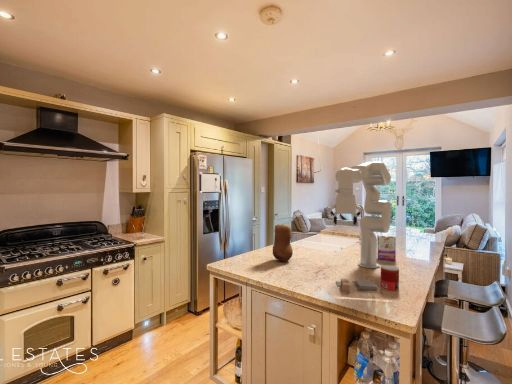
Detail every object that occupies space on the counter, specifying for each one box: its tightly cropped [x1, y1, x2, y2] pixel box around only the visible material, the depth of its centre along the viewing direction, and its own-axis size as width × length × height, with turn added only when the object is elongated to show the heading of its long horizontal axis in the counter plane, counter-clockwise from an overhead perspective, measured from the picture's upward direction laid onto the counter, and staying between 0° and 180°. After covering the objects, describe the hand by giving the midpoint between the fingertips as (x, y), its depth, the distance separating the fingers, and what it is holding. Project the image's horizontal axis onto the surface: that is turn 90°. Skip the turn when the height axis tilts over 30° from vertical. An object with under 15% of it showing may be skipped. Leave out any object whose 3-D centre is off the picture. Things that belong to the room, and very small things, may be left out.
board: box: [351, 280, 383, 294], centre depth 132 cm, size 15×11×1 cm
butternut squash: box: [272, 223, 294, 263], centre depth 181 cm, size 14×13×25 cm
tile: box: [355, 278, 378, 290], centre depth 133 cm, size 2×8×9 cm
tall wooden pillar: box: [335, 278, 351, 294], centre depth 132 cm, size 14×6×4 cm, turn 171°
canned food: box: [380, 264, 400, 292], centre depth 131 cm, size 8×8×11 cm
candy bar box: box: [376, 234, 397, 262], centre depth 186 cm, size 11×5×16 cm, turn 73°
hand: (345, 224), depth 142 cm, fingers open, 9 cm apart
